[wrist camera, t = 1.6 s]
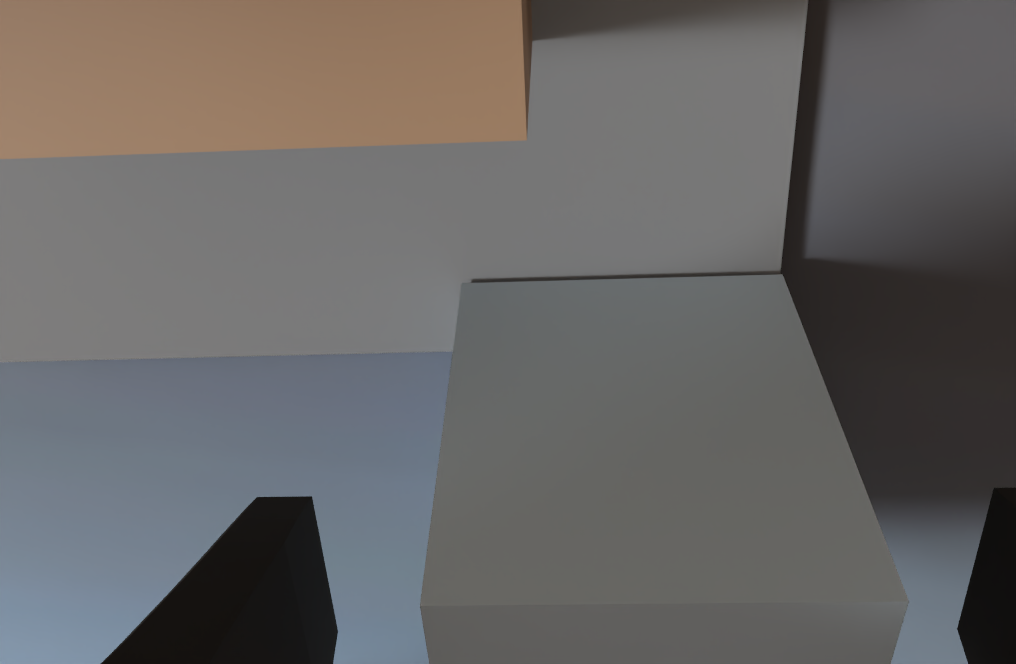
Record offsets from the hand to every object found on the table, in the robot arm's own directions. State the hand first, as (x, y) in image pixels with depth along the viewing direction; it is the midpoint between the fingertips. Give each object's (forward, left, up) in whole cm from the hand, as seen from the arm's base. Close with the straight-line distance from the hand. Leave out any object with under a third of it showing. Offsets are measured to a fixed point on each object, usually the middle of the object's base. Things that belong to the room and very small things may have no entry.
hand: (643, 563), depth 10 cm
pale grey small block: (0, 0, -3) cm, 3 cm away
